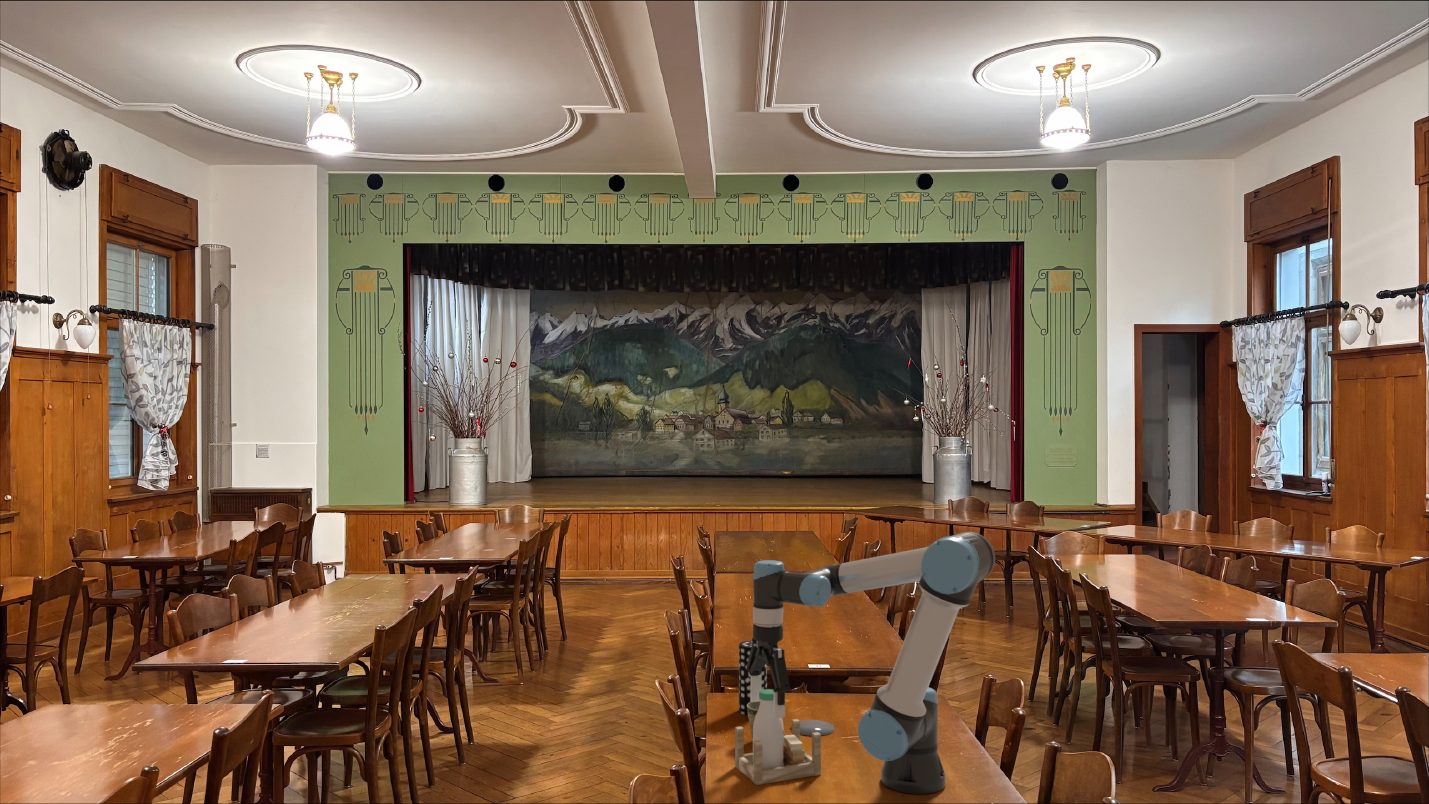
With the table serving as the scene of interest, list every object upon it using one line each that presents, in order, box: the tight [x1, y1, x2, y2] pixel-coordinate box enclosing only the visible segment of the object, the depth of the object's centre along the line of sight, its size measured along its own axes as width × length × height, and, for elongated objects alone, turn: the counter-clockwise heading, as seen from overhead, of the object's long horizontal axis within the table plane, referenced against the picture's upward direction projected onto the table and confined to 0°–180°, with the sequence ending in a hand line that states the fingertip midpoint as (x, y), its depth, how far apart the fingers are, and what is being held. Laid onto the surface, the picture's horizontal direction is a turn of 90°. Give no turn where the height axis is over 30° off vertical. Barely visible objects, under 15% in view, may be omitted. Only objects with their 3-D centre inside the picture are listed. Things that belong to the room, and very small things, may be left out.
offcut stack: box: [784, 734, 806, 766], centre depth 240 cm, size 8×4×7 cm, turn 22°
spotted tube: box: [738, 640, 768, 716], centre depth 286 cm, size 8×8×20 cm
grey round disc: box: [790, 719, 835, 737], centre depth 270 cm, size 12×12×1 cm
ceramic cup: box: [747, 701, 760, 741], centre depth 258 cm, size 13×10×10 cm
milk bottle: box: [752, 688, 785, 769], centre depth 238 cm, size 8×8×20 cm
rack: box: [734, 718, 822, 786], centre depth 238 cm, size 13×17×10 cm
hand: (767, 709), depth 238 cm, fingers open, 13 cm apart
